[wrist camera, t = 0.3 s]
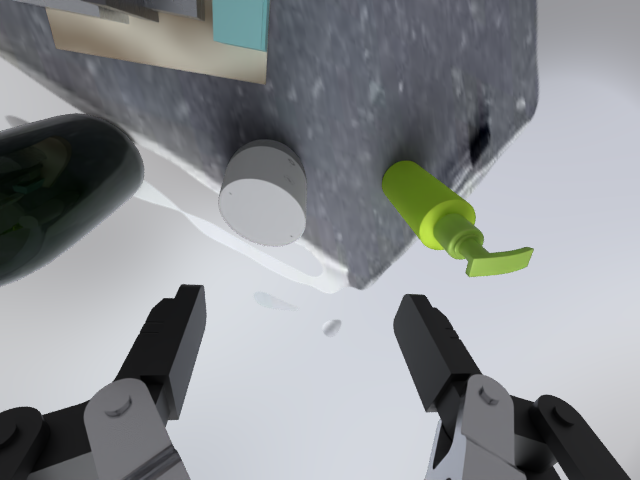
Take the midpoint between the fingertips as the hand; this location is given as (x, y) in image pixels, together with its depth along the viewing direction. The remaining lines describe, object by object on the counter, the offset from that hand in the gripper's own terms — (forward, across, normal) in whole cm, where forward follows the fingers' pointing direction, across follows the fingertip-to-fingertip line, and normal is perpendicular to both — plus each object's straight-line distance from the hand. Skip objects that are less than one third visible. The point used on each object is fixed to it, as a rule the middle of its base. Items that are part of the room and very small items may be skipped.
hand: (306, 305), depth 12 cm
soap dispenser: (+29, -16, +4) cm, 33 cm away
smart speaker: (+29, +2, +5) cm, 29 cm away
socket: (+28, +5, -12) cm, 30 cm away
